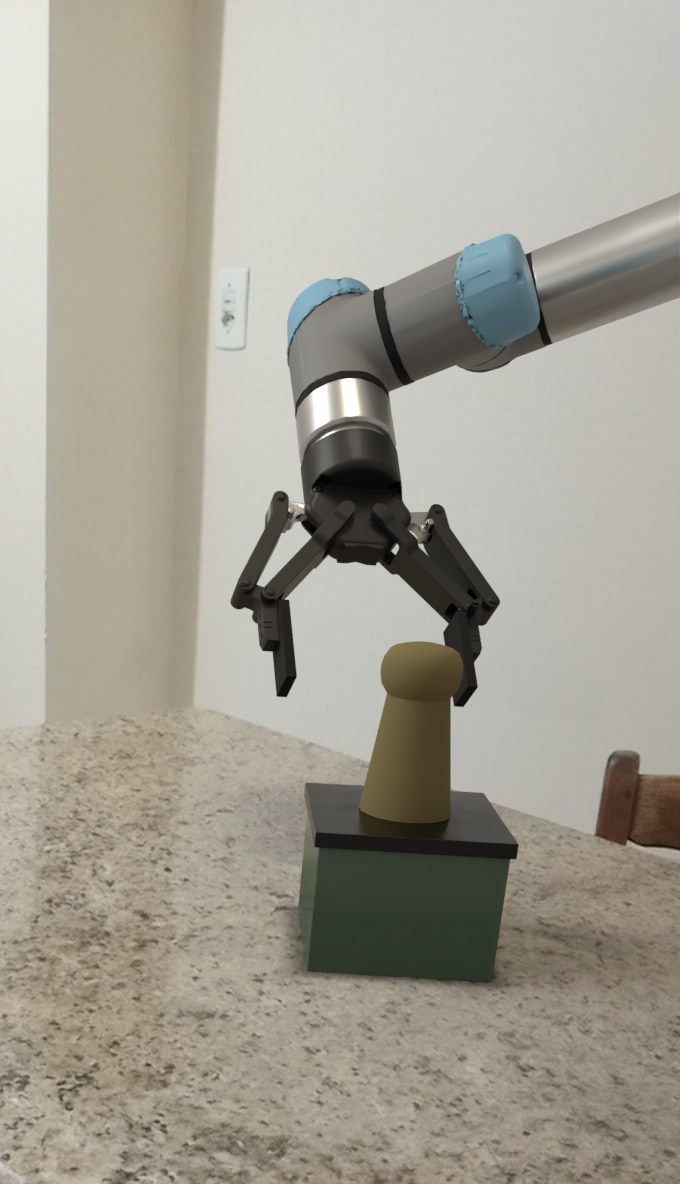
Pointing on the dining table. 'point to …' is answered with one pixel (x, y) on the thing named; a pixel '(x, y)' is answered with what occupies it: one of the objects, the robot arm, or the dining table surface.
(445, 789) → the cork
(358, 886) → the bin
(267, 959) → the dining table surface
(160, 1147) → the dining table surface
